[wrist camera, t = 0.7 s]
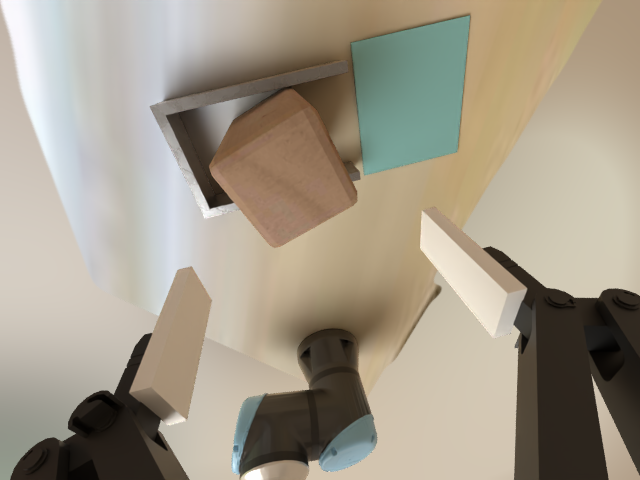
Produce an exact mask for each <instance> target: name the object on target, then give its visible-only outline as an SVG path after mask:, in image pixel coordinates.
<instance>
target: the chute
mask: <svg viewBox="0 0 640 480" xmlns="http://www.w3.org/2000/svg"><path fill="white" fill-rule="evenodd" d="M347 72H348V64H347V60H339V61H333V62H329V63H325V64H321V65H316V66H312V67H308V68H303V69H299V70H295V71H291V72H286V73H282V74H278V75H273V76H269V77H265V78H261V79H256V80H252V81H248V82H243V83H239V84H235V85H231V86H226V87H222V88H218V89H213V90H209V91H205V92H201V93H196V94H192V95H188V96H183V97H179V98H175V99H171V100H166V101H162V102H160V103H157V104H155V105H152V106H150V108H151V110H152V112H153V114H154V116H155V118H156V120H157V122H158V124H159V126H160V128H161V130H162V132H163V135H164V137H165V139H166V141H167V143H168V145H169V147H170V149H171V151H172V153H173V155H174V157H175V159H176V161H177V163H178V165H179V167H180V169H181V171H182V173H183V175H184V177H185V179H186V181H187V183H188V185H189V187H190V189H191V191H192V193H193V195H194V197H195V199H196V201H197V203H198V205H199V207H200V209H201V211H202V213H203V215H204V217H205V218H209V217H213V216H217V215H221V214H225V213H229V212H233V211H237V210H240V209H239V208H238V207H237V205H236V204H235V203H234V202H233V201H232V199H231V198H230V197H229V196H228V194H227V193H226V192H225V193H221V194H217V195H215V194H214V192H213V189H212V187H211V185H210V183H209V180H208V178H207V176H206V174H205V172H204V169H203V167H202V165H201V163H200V160H199V158H198V156H197V154H196V151H195V149H194V147H193V145H192V142H191V140H190V138H189V136H188V133H187V131H186V129H185V127H184V124H183V122H182V120H181V118H180V116H179V113H178V112H181V111H185V110H190V109H194V108H198V107H202V106H207V105H211V104H215V103H219V102H224V101H228V100H232V99H236V98H241V97H245V96H249V95H253V94H258V93H262V92H266V91H270V90H275V89H279V88H283V87H287V86H292V85H296V84H300V83H304V82H309V81H313V80H317V79H321V78H326V77H330V76H334V75H338V74H343V73H347ZM343 164H344V166H345V168H346V170H347V172H348V174H349V176H350V178H351V180H352V181H356V180H360V172H359V170H358V169H357V168H356V167H355V166H354V165H353V164H352V163H351V161H350V162H346V163H343Z"/></svg>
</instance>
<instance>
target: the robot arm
mask: <svg viewBox="0 0 640 480" xmlns="http://www.w3.org/2000/svg"><path fill="white" fill-rule="evenodd" d="M420 249H421V250H422V251H423V253H424V254H425V255H426V256H427V257H428V259H429V260H430V261H431V262H432V264H433V265H434V266H435V267H436V268H437V270H438V271H439V272H440V273H441V275H442V276H443V277H444V278H445V280H447V282H448V283H449V284H450V286H451V287H452V288H453V289H454V291H455V292H456V293H457V294H458V296H459V297H460V298H461V299H462V300H463V301H464V303H465V304H466V305H467V307H468V308H469V309H470V310H471V311H472V313H473V314H474V315H475V316H476V317H477V319H478V320H479V321H480V322H481V324H482V325H483V326H484V327H485V329H486V330H487V331H488V332H489V334H490V335H491V336H492V337H493V338H496V337H500V336H504V335H508V334H511V331H512V328H513V325H515V327H516V328H517V329H518V330H519V331H520V335H519V337H518V339H517V342H516V344H515V348H519V349H518V350H519V351H518V380H517V410H516V412H517V413H516V443H515V473H514V480H608V473H607V467H606V461H605V455H604V449H603V443H602V437H601V431H600V424H599V418H598V412H597V406H596V400H595V394H594V388H593V382H592V376H593V378H594V381H595V382H596V385H597V387H598V389H599V391H600V393H601V395H602V397H603V399H604V402H605V404H606V405H607V408H608V410H609V412H610V414H611V416H612V418H613V420H614V422H615V424H616V427H617V429H618V431H619V432H620V435H621V437H622V439H623V441H624V443H625V445H626V448H627V450H628V452H629V454H630V456H631V458H632V460H633V462H634V464H635V466H636V468H637V471H638V473H639V475H640V296H639V295H637V294H636V293H632V292H630V291H627V290H622V289H607V290H604V291H603V292H602V293H601V295H600V297H599V298H574V297H573V296H571V295H569V294H568V293H566V292H563V291H560V290H557V289H550V288H546V287H544V286H543V285H542V284H541V283H540V282H538V281H537V280H536V279H535V278H533V277H532V276H531V275H530V274H528V273H527V272H526V271H525V270H524V269H522V268H521V267H520V266H518V264H516V263H515V262H514V261H513V260H511V259H510V258H509V257H508V256H507V255H505V254H504V253H503V252H502V251H499V250H497V249H495V248H492V247H491V246H490V247H486V248H481V247H480V246H479V245H477V244H476V243H475V242H474V241H473V240H472V239H471V238H470V237H468V236H467V235H466V234H465V233H464V232H463V231H462V230H460V229H459V228H458V227H457V226H456V225H455V224H454V223H453V222H451V221H450V220H449V219H448V218H447V217H446V216H445V215H443V214H442V213H441V212H440V211H439V210H438V209H437V208H436V207H432V208H428V209H424V210H422V219H421V240H420ZM211 302H212V300H211V298H210V297H209V295H208V293H207V291H206V290H205V288H204V286H203V285H202V283H201V281H200V280H199V278H198V276H197V275H196V273H195V271H194V270H193V268H192V266H191V267H187V268H183V269H179V270H177V273H176V275H175V278H174V281H173V283H172V286H171V288H170V291H169V293H168V296H167V298H166V301H165V303H164V306H163V308H162V311H161V313H160V316H159V318H158V321H157V323H156V326H155V328H154V331H153V333H150V334H146V335H144V336H143V337H142V338H141V339H140V341H139V342H138V343H137V344H136V346H135V348H134V350H133V353H132V355H131V359H129V362H128V364H127V368H125V370H124V373H123V375H122V377H121V380H120V382H119V384H118V387H117V389H116V391H115V393H114V395H113V394H111V393H110V392H109V391H99V392H96V393H94V394H92V395H90V396H89V397H87V398H86V399H85V400H84V401H83V402H82V403H80V404H79V405H78V406H77V408H76V409H75V410H74V412H73V413H72V415H71V417H70V419H69V421H68V429H69V430H71V431H73V432H75V433H76V434H75V435H73V436H71V437H70V438H68V439H66V440H64V441H60V440H58V439H56V438H47V439H45V440H43V441H41V442H39V443H37V444H36V445H35V446H34V447H32V448H31V449H30V450H29V451H28V452H27V453H26V454H25V455H24V456H23V457H22V458H21V459H20V461H19V462H18V464H17V465H16V467H15V468H14V471H13V473H12V476H11V479H10V480H189V478H188V477H187V475H186V473H185V471H184V470H183V468H182V466H181V465H180V463H179V461H178V460H177V458H176V457H175V455H174V453H173V451H172V450H171V448H170V446H169V445H168V443H167V441H166V440H165V438H164V436H163V435H162V433H161V432H160V431H158V427H159V424H160V420H162V421H163V422H164V423H166V424H167V425H168V426H169V425H172V424H176V423H180V422H184V421H187V418H188V412H189V408H190V403H191V398H192V393H193V389H194V384H195V379H196V374H197V370H198V365H199V360H200V355H201V350H202V345H203V341H204V336H205V331H206V326H207V322H208V317H209V312H210V307H211ZM518 346H519V347H518ZM297 357H298V363H299V366H300V368H301V370H302V372H303V374H304V376H305V378H306V380H307V382H308V384H309V390H302V391H293V392H283V393H274V394H267V393H265V394H263V395H259V396H253V397H249V398H247V399H246V400H245V401H244V402H243V404H242V406H241V408H240V412H239V416H238V420H237V425H236V430H235V436H234V447H233V453H232V472H233V473H236V474H240V480H305V479H306V477H307V476H308V473H309V465H308V462H309V461H315V460H319V465H320V466H321V469H322V470H323V471H327V472H328V471H331V472H333V471H339V470H342V469H345V468H348V467H350V466H352V465H354V464H356V463H358V462H359V461H361V460H363V459H364V458H365V457H367V456H368V455H369V454H370V453H371V452H372V451H373V450H374V448H375V446H376V443H377V433H376V429H375V425H374V422H373V420H374V418H373V415H372V414H371V411H370V407H369V404H368V401H367V398H366V395H365V392H364V388H363V385H362V382H361V379H360V376H359V372H358V357H359V350H358V345H357V342H356V339H355V337H354V336H353V335H352V334H351V333H349V332H347V331H344V330H340V329H328V330H323V331H319V332H317V333H314V334H312V335H310V336H309V337H307V338H306V339H305V340H304V341H303V342H302V343H301V344H300V346H299V348H298V351H297ZM591 374H592V375H591Z"/></svg>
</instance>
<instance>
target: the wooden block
mask: <svg viewBox="0 0 640 480" xmlns="http://www.w3.org/2000/svg"><path fill="white" fill-rule="evenodd" d="M209 168H210V171H211V174H212V176H213V178H214V179H215V180H216V181H217V182H218V184H219V185H220V186H221V187H222V188H223V190H224V191H225V192H226V193H227V194H228V196H229V197H230V198H231V199H232V201H233V202H234V203H235V204H236V205H237V207H238V208H239V209H240V210H241V211H242V213H243V214H244V215H245V216H246V217H247V219H248V220H249V221H250V222H251V224H252V225H253V226H254V227H255V228H256V230H257V231H258V232H259V233H260V234H261V236H262V237H263V238H264V239H265V240H266V242H267V243H268V244H269V245H271V246H272V247H274V248H275V247H280V246H282V245H284V244H286V243H287V242H289V241H291V240H293V239H294V238H296V237H298V236H300V235H302V234H303V233H305V232H307V231H309V230H311V229H312V228H314V227H316V226H318V225H319V224H321V223H323V222H325V221H327V220H328V219H330V218H332V217H334V216H335V215H337V214H339V213H341V212H343V211H344V210H346V209H348V208H350V207H352V206H353V205H354V204H355V203H356V202H357V190H356V188H355V186H354V184H353V182H352V180H351V178H350V176H349V174H348V172H347V170H346V168H345V166H344V164H343V162H342V160H341V158H340V156H339V154H338V152H337V150H336V148H335V146H334V144H333V142H332V140H331V138H330V136H329V134H328V132H327V130H326V128H325V125H324V123H323V121H322V119H321V117H320V115H319V113H318V111H317V110H316V109H315V108H314V107H313V106H312V105H311V104H309V103H308V102H307V101H306V100H305V99H304V98H303V97H302V96H300V95H299V94H298V93H297V92H296V91H295V90H294V89H292V88H291V87H290V86H289V87H284V88H282V89H281V90H279V91H277V92H276V93H274V94H273V95H271V96H270V97H268V98H267V99H265V100H264V101H262V102H260V103H259V104H257V105H256V106H254V107H253V108H251V109H250V110H248V111H247V112H245V113H243V114H242V115H240V116H239V117H237V118H236V119H234V120H233V122H232V123H231V125H230V127H229V129H228V131H227V133H226V135H225V136H224V138H223V140H222V142H221V144H220V146H219V148H218V150H217V152H216V154H215V156H214V158H213V159H212V161H211V163H210V165H209Z"/></svg>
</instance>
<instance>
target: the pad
mask: <svg viewBox="0 0 640 480" xmlns="http://www.w3.org/2000/svg"><path fill="white" fill-rule="evenodd" d="M469 23H470V15H469V16H465V17H460V18H456V19H452V20H448V21H443V22H439V23H435V24H430V25H426V26H422V27H417V28H413V29H409V30H404V31H400V32H396V33H391V34H387V35H383V36H378V37H374V38H370V39H365V40H361V41H357V42H352V43H351V51H352V61H353V71H354V80H355V90H356V100H357V110H358V120H359V129H360V139H361V149H362V159H363V168H364V175H368V174H372V173H376V172H380V171H384V170H388V169H392V168H396V167H400V166H404V165H408V164H412V163H416V162H420V161H424V160H428V159H432V158H436V157H440V156H444V155H448V154H452V153H456V152H457V149H458V138H459V128H460V117H461V107H462V96H463V86H464V75H465V65H466V54H467V44H468V33H469Z"/></svg>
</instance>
